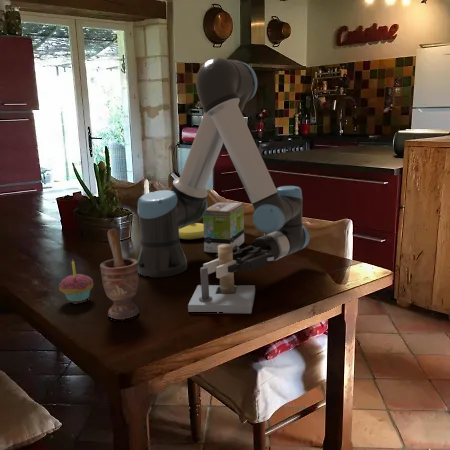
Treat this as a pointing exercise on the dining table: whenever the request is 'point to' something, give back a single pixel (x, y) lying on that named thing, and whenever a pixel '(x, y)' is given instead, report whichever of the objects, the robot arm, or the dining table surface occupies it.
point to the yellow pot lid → (192, 231)
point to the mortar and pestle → (120, 280)
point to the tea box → (223, 225)
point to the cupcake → (76, 286)
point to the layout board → (221, 297)
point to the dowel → (224, 257)
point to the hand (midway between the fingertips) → (211, 271)
